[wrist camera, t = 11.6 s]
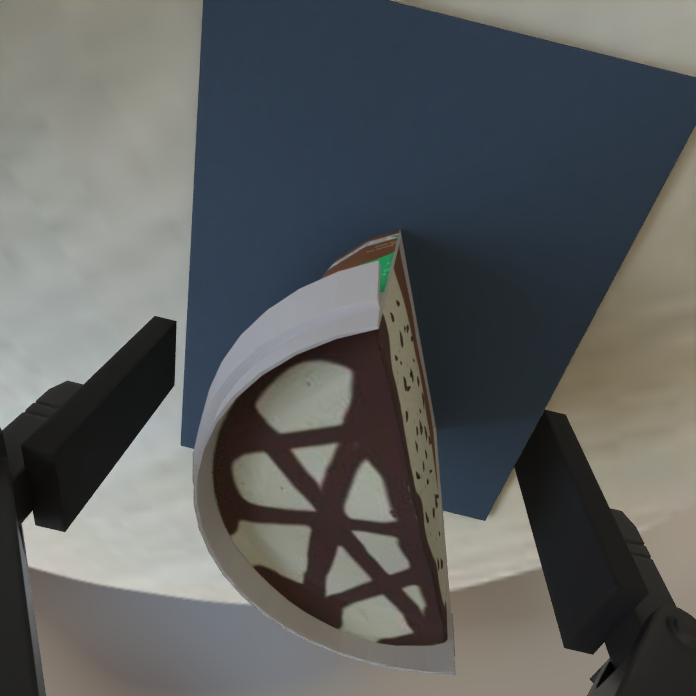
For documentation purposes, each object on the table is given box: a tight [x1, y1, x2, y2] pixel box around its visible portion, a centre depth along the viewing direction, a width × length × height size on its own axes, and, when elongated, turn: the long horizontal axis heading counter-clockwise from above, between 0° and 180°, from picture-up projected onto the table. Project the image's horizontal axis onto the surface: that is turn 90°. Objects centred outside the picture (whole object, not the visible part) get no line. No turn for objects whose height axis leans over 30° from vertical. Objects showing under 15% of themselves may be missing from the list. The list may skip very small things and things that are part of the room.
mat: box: [181, 0, 696, 521], centre depth 20 cm, size 16×20×1 cm
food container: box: [193, 230, 455, 675], centre depth 16 cm, size 12×6×10 cm, turn 13°
